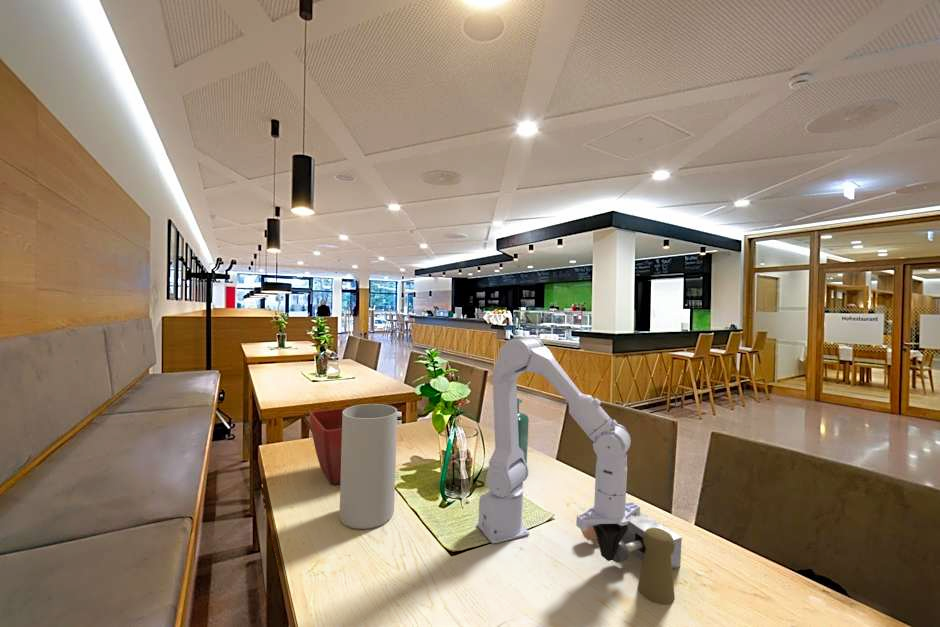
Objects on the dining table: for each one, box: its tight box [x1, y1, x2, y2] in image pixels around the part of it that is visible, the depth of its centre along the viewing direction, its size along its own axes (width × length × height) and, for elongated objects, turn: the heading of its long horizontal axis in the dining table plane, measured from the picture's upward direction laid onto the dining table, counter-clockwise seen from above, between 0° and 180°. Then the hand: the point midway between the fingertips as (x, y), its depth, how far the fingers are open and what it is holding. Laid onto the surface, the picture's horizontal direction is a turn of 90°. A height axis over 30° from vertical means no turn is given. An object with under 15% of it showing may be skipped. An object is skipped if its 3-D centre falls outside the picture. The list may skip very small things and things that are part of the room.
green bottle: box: [517, 397, 530, 465], centre depth 122 cm, size 10×8×22 cm
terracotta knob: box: [580, 526, 597, 541], centre depth 86 cm, size 7×4×4 cm, turn 115°
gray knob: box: [612, 540, 642, 564], centre depth 78 cm, size 7×4×4 cm, turn 115°
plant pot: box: [309, 407, 347, 486], centre depth 114 cm, size 19×19×17 cm
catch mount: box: [621, 511, 683, 571], centre depth 85 cm, size 6×18×6 cm, turn 25°
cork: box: [637, 528, 676, 605], centre depth 71 cm, size 6×6×11 cm
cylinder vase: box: [339, 403, 398, 530], centre depth 92 cm, size 12×12×25 cm
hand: (607, 557), depth 76 cm, fingers closed
